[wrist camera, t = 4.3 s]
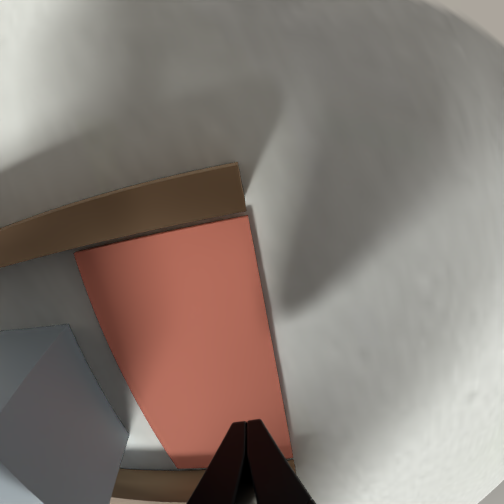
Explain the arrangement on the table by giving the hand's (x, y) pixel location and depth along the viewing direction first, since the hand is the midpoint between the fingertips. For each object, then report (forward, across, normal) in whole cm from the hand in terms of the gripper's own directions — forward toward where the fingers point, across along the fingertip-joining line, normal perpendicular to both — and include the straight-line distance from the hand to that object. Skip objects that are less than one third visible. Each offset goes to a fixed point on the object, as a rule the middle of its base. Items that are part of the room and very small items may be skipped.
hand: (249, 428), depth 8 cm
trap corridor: (+2, +13, -4) cm, 14 cm away
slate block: (+3, +9, 0) cm, 9 cm away
